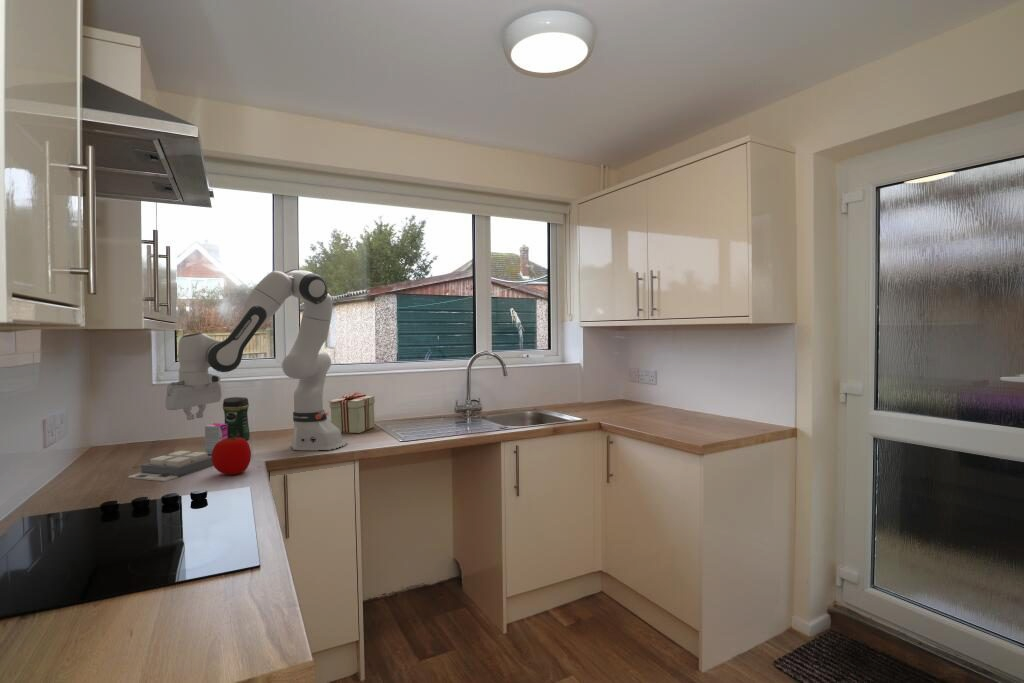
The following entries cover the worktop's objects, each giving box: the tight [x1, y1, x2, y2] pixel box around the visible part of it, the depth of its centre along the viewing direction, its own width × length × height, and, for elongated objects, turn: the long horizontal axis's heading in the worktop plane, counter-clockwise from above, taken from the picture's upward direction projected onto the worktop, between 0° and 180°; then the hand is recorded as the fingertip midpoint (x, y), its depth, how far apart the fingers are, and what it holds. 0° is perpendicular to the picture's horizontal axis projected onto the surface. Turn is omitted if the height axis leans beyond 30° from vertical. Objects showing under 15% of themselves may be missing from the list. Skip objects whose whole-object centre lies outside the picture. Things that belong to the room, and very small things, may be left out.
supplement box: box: [204, 422, 228, 456], centre depth 201 cm, size 6×6×12 cm
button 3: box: [167, 450, 193, 458], centre depth 185 cm, size 5×5×2 cm
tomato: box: [212, 436, 252, 476], centre depth 175 cm, size 12×12×13 cm
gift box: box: [327, 391, 375, 434], centre depth 244 cm, size 17×18×17 cm
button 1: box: [149, 455, 175, 465], centre depth 179 cm, size 5×5×2 cm
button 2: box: [166, 457, 191, 467], centre depth 177 cm, size 5×5×2 cm
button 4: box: [184, 451, 208, 461], centre depth 184 cm, size 5×5×2 cm
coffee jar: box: [222, 396, 251, 441], centre depth 224 cm, size 10×8×19 cm
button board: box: [127, 456, 214, 482], centre depth 179 cm, size 16×20×3 cm
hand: (195, 418), depth 183 cm, fingers open, 2 cm apart
